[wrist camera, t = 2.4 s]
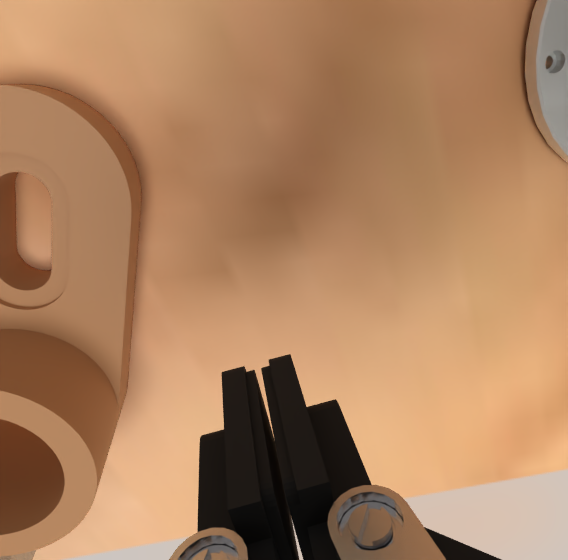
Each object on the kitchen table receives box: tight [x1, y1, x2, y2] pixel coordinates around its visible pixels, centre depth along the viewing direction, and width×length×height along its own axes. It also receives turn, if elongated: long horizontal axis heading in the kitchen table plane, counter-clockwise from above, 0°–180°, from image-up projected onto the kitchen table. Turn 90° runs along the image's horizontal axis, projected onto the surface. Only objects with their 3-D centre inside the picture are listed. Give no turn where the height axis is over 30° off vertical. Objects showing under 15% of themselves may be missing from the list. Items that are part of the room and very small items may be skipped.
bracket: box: [0, 84, 141, 557], centre depth 19 cm, size 18×8×7 cm, turn 169°
